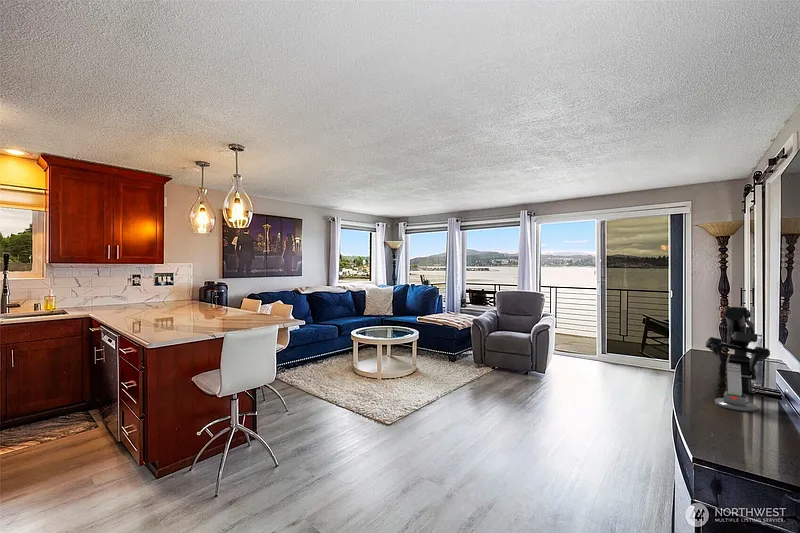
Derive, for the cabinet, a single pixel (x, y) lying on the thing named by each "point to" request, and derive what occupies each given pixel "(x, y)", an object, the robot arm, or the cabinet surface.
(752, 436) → the cabinet surface
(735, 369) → the column
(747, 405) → the stand base
